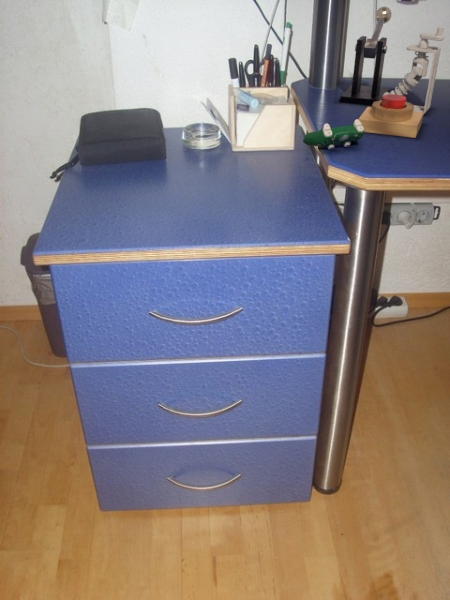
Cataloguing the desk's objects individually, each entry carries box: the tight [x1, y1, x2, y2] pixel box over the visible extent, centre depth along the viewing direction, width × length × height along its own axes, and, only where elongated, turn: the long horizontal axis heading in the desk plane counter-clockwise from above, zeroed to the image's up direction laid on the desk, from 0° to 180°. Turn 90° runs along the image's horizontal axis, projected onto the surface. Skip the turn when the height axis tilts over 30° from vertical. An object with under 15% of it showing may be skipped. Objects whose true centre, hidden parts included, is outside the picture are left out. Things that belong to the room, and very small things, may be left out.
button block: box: [358, 100, 425, 139], centre depth 104 cm, size 10×8×4 cm
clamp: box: [383, 26, 445, 115], centre depth 111 cm, size 4×10×15 cm, turn 62°
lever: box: [364, 6, 392, 60], centre depth 119 cm, size 14×3×3 cm, turn 157°
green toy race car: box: [302, 118, 365, 150], centre depth 96 cm, size 9×4×6 cm
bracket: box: [339, 35, 390, 106], centre depth 119 cm, size 10×8×11 cm
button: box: [381, 94, 407, 109], centre depth 103 cm, size 4×4×2 cm
